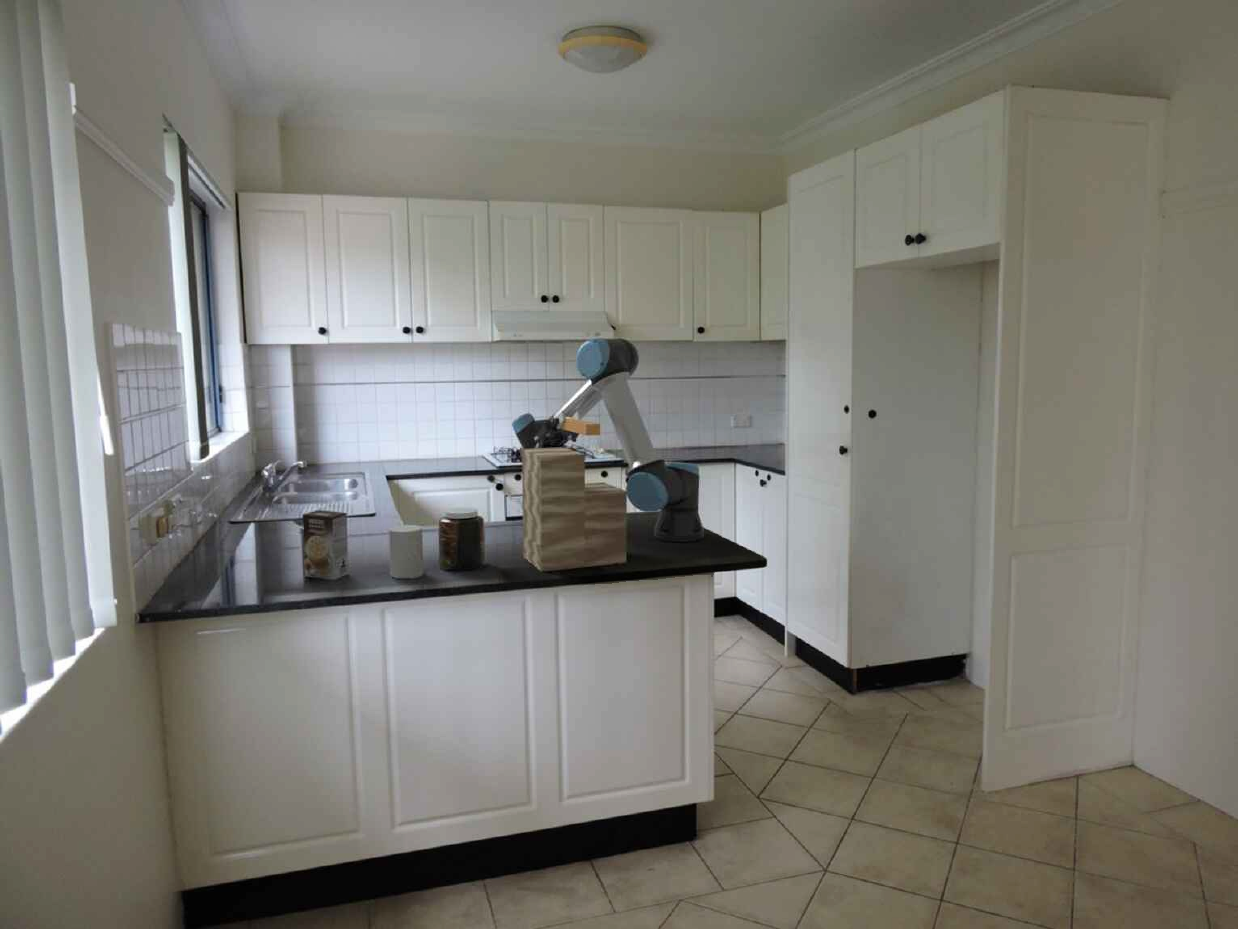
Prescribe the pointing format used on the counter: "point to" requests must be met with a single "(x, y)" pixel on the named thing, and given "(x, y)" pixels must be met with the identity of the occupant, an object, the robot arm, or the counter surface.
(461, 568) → the jar
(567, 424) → the orange box
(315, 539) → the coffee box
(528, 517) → the wooden stepped block
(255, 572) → the counter surface
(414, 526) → the cup
